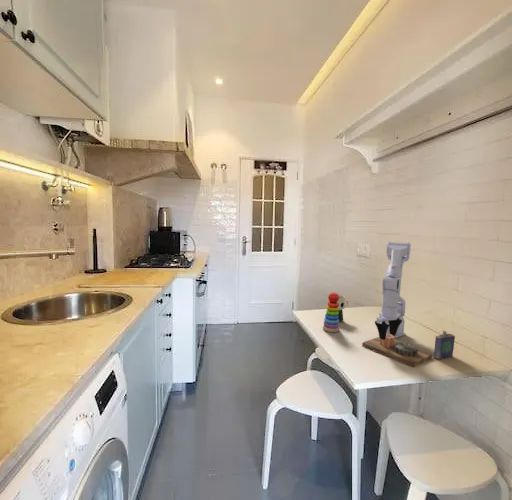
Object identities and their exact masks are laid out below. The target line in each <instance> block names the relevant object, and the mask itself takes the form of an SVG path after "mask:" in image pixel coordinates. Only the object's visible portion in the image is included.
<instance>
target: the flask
mask: <svg viewBox="0 0 512 500" xmlns="http://www.w3.org/2000/svg"><path fill="white" fill-rule="evenodd" d="M455 339H456V336H455V335H454V334H452V333H447V331H446V330H443V331H442V334H439V335H436V336H435V339H434V341H435V342H434V350H433V358H434V359H435V360H444V359H451V358H453V357H454V355H453V354H454V349H455V348H454V347H455V341H456V340H455Z"/></svg>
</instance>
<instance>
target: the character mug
mask: <svg viewBox="0 0 512 500" xmlns="http://www.w3.org/2000/svg"><path fill="white" fill-rule="evenodd" d="M338 296H339V300H338V301H337V303H338V308H339V310H338V312H339V314H338V316H339V318H338V319H339V322H342V321H344V313H343V310H344V309H345V307H348V306H349V300H348V299H346V296H344V295H340V294H338ZM328 302H330V301H329V299H327V303H328Z"/></svg>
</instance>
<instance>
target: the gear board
mask: <svg viewBox="0 0 512 500" xmlns="http://www.w3.org/2000/svg"><path fill="white" fill-rule="evenodd" d="M386 337H390V336H389V335H386ZM379 342H380V337H379V336H377V337H375V338H371V339H369V340H366V341H363V342H362V343H361V346H362V347H364V348H366V347H367V349H368V348H369V350H371V351H373V350H374V351H373V352H375V353H378V354H380V355H383V356H385V357H388V358H390V359H392V360H394V361H397V362H400V363H402V364H404V365H408V366H409V367H412V368H414V367H417V366H418V365H421V364H423V363H425V362H426V361H428V360H431V359H432V358H433V354H432V353H428V352H426V351H424V350H421V349H419V348H417V347H416V346H414V345H413V344H409V342H408V341H403V343H402V342H399V341H397V340H394V347H385V346H382V345H381V344H379Z"/></svg>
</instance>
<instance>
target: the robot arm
mask: <svg viewBox="0 0 512 500" xmlns="http://www.w3.org/2000/svg"><path fill="white" fill-rule="evenodd" d="M411 244H412V243H410V242H402V241H401V242H400V241H399V242H398V241H388V242H387V244H386V256H387V260H389V261H390V264H389V265H388V266H387V267H386V271H385V276H384V277H383V279H382V285H381V288H382V303H381V313H379V316H378V317H376V320H375V321H374V324H375V327H376V329H377V332H378V337H380V339H383V340H385V338H386V333H387V334H392V335H393V336H395V339H396V338H399V337H402V336H404V335H406V334H407V333H405V322H406V321H405V318H404V317H405V313H406V300H405V299H404V298H403V297H402V296H401V295H400V294H401V284H402V275H403V265H404V264H405V262H408V261H409V259H410V254H411Z"/></svg>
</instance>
